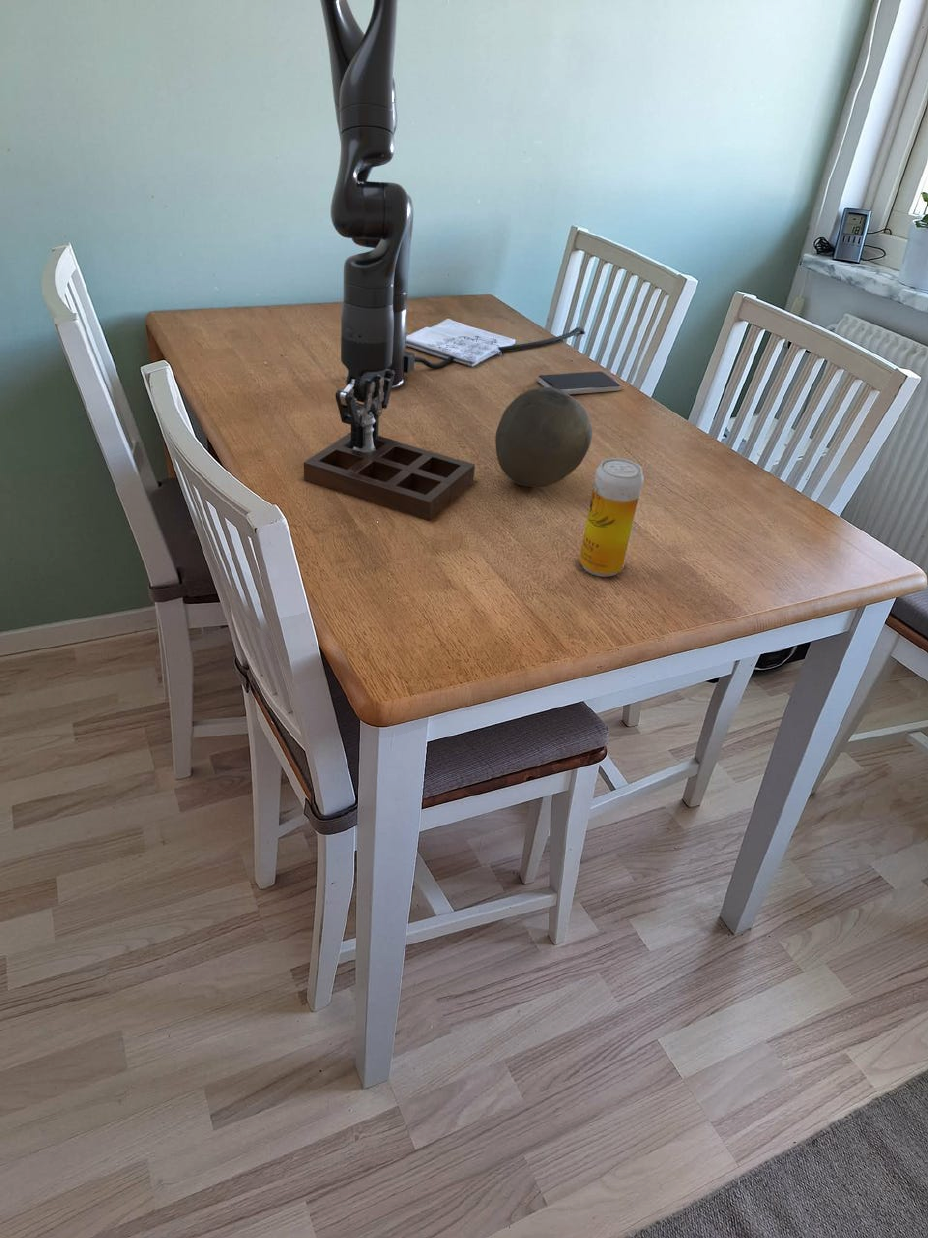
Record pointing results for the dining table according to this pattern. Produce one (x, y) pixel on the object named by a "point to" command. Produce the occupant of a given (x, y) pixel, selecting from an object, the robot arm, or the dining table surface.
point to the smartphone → (580, 382)
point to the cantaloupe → (542, 437)
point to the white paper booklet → (458, 342)
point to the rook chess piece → (368, 435)
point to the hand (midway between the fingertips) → (364, 441)
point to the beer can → (611, 516)
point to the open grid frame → (391, 475)
